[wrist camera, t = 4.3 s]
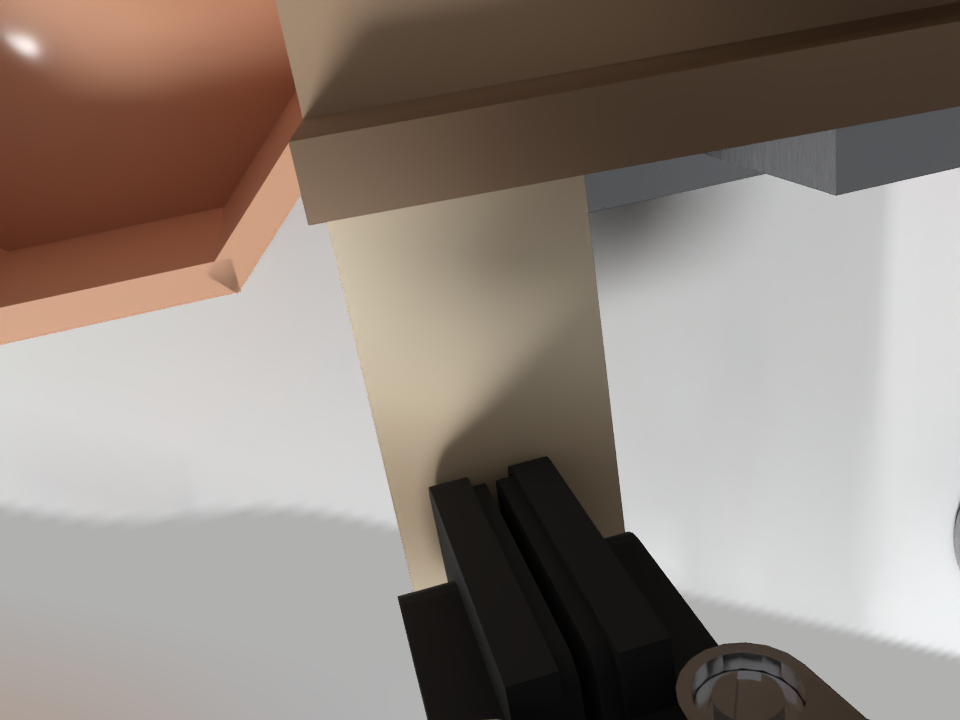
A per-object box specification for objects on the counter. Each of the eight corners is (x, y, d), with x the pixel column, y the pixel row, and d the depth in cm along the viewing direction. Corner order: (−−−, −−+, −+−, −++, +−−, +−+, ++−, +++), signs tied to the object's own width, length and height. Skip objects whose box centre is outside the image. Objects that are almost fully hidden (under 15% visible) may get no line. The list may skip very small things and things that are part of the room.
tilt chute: (190, -474, 10) (68, -766, 6) (1427, -672, 10) (2039, -1063, 6) (435, 616, 15) (451, 813, 12) (1211, 464, 16) (1465, 608, 12)
